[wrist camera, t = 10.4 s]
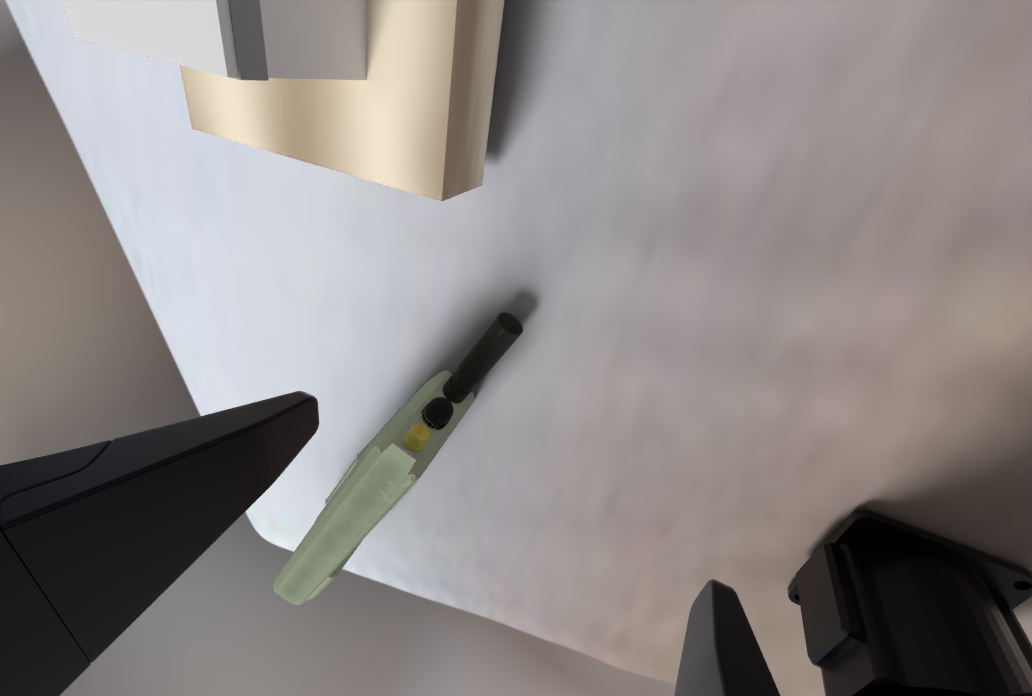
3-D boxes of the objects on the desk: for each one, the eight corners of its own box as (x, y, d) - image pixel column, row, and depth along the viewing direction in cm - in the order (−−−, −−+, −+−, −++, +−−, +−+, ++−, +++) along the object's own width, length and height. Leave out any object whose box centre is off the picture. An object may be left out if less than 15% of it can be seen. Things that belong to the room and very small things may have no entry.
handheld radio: (329, 507, 36) (492, 285, 21) (363, 532, 36) (547, 330, 21) (262, 584, 30) (420, 358, 16) (303, 614, 31) (494, 417, 16)
